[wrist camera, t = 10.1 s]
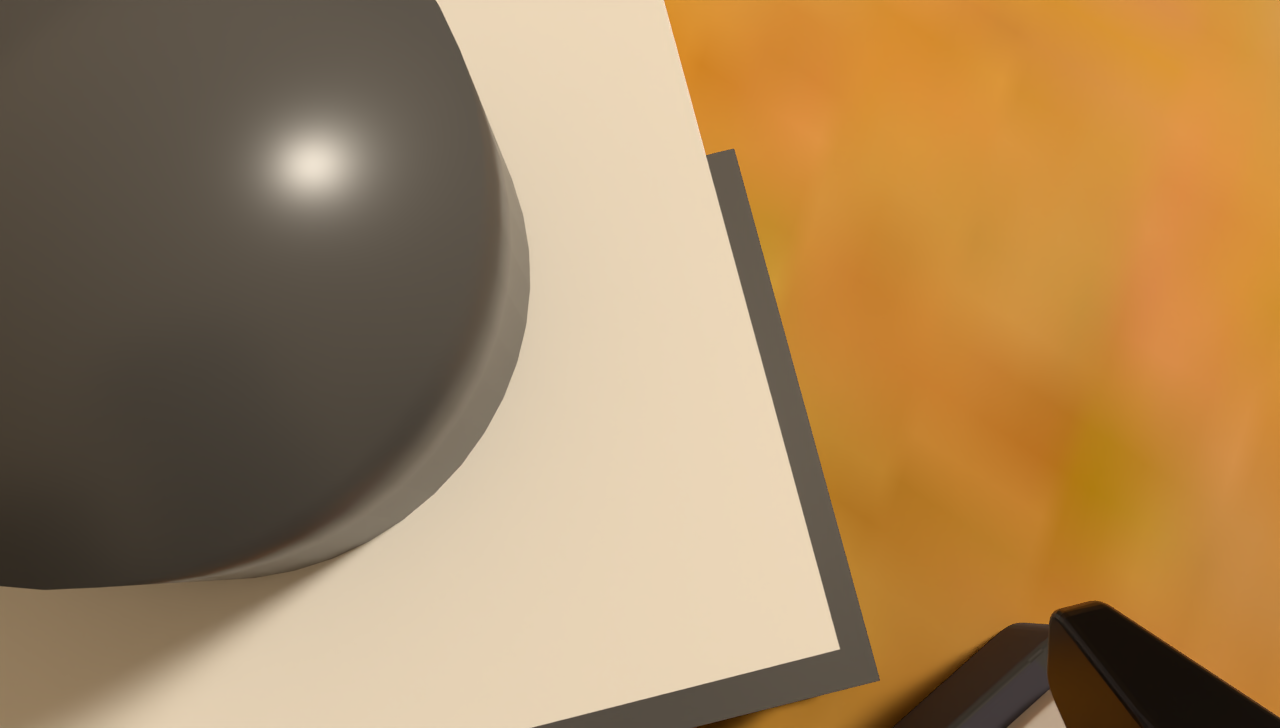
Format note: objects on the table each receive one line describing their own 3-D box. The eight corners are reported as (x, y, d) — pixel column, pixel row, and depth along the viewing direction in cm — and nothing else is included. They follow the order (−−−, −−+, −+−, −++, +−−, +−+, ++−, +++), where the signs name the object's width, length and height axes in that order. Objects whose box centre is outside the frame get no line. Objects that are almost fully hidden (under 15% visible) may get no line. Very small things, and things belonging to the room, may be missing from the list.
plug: (705, 576, 17) (908, 687, 3) (457, 639, 17) (-528, 1053, 3) (644, 334, 18) (578, -498, 4) (405, 393, 18) (-593, -230, 4)
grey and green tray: (854, 666, 17) (898, 692, 14) (371, 788, 17) (304, 843, 14) (729, 204, 19) (744, 132, 16) (280, 314, 19) (199, 262, 15)
